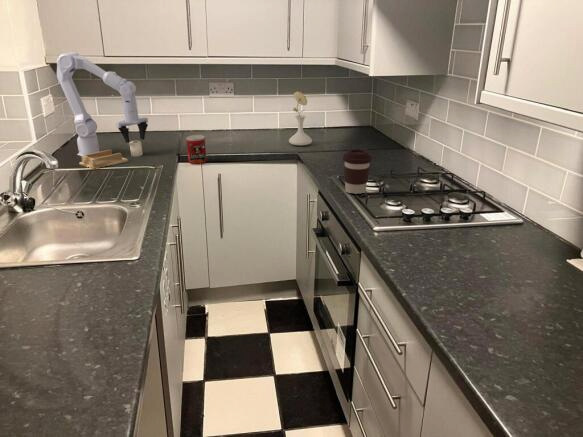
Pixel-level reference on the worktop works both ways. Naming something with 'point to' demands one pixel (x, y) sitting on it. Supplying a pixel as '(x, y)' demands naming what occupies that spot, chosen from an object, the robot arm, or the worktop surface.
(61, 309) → the worktop surface
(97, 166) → the clip holder
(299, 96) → the flower in vase
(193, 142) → the canned food
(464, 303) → the worktop surface
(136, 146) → the paper roll
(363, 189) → the coffee cup
